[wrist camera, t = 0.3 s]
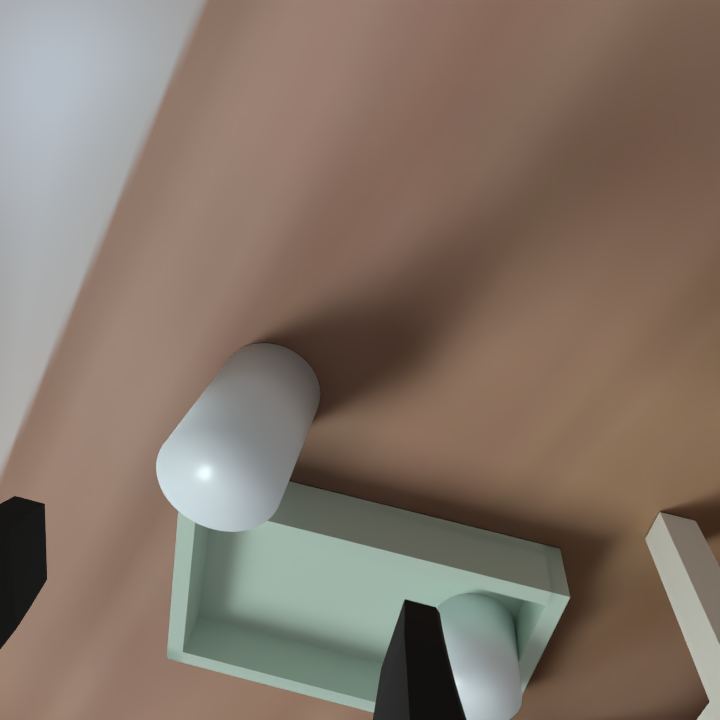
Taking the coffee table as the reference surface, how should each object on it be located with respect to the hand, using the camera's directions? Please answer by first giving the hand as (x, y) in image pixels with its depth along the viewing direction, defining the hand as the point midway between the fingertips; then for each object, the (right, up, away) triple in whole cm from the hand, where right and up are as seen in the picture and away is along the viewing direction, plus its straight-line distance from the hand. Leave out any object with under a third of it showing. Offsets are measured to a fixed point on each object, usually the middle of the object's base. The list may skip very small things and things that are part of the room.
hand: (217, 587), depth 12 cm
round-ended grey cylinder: (0, +3, +9) cm, 9 cm away
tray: (+3, -4, +12) cm, 13 cm away
